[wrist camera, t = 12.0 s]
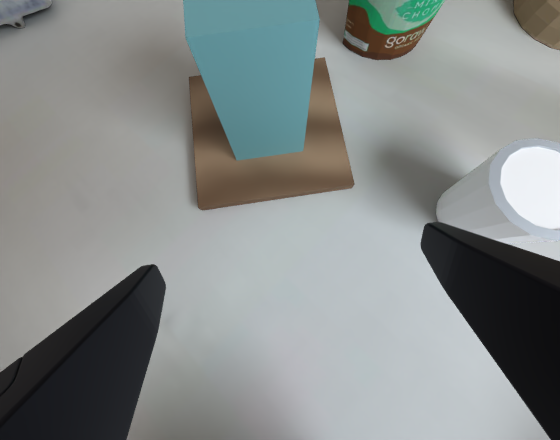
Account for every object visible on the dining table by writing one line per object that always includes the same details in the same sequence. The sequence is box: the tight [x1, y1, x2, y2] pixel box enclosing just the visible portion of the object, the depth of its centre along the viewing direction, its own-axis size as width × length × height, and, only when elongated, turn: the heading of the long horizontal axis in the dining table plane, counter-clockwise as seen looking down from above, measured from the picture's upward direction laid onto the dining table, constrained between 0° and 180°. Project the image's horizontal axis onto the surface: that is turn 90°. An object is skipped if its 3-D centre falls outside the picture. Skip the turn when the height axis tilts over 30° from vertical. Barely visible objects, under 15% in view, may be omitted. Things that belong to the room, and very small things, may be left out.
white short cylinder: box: [436, 138, 560, 244], centre depth 19 cm, size 7×7×7 cm
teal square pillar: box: [183, 0, 320, 161], centre depth 18 cm, size 6×6×12 cm
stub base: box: [189, 57, 354, 210], centre depth 23 cm, size 14×14×4 cm
